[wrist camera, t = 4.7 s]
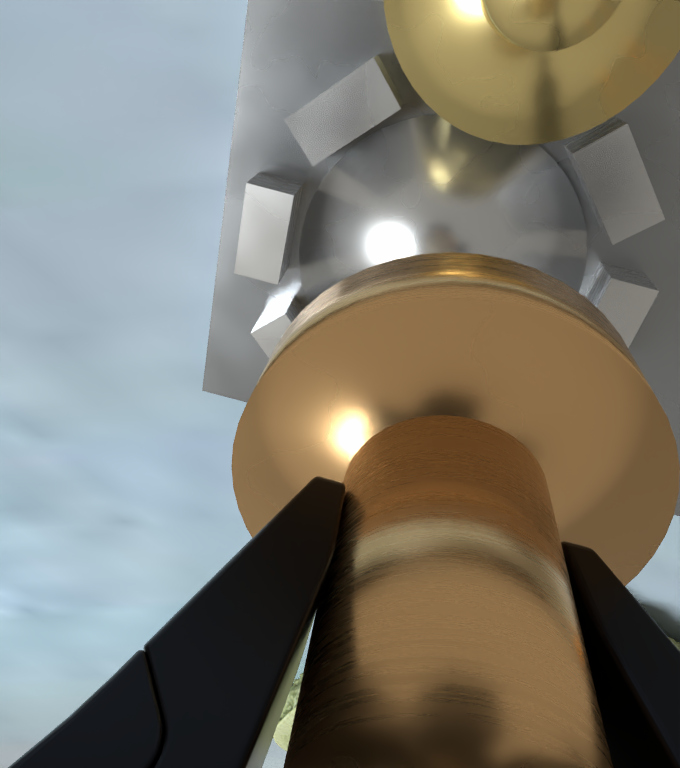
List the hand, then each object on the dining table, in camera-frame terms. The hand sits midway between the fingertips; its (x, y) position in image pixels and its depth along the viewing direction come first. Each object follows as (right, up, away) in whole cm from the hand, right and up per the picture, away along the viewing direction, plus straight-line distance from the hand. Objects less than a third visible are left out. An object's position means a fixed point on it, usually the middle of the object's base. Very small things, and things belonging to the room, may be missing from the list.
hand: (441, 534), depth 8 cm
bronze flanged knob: (0, +1, +2) cm, 2 cm away
